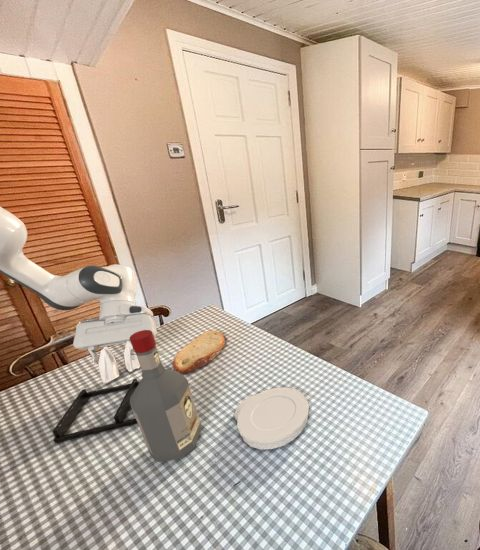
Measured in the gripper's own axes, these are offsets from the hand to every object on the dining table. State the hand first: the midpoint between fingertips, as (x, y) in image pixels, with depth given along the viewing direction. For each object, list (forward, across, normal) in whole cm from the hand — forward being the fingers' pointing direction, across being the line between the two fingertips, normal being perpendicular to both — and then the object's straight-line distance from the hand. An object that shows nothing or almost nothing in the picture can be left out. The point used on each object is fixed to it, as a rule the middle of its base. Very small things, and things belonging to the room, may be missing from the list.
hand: (115, 358), depth 90 cm
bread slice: (+1, +21, +8) cm, 23 cm away
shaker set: (+4, 0, +5) cm, 7 cm away
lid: (+28, +42, -18) cm, 53 cm away
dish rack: (+15, +3, -5) cm, 16 cm away
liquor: (+28, +21, -18) cm, 39 cm away
